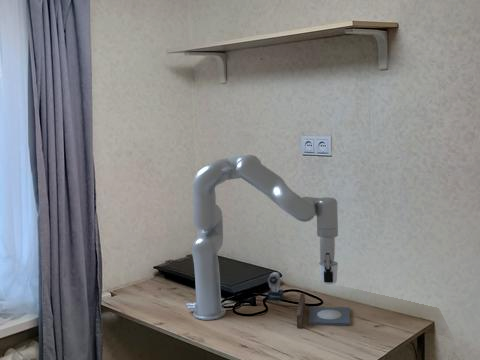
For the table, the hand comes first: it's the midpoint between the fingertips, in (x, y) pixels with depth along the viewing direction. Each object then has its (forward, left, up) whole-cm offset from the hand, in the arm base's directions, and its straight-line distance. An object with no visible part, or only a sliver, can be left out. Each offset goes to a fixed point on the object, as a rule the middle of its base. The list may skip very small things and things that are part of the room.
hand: (328, 278), depth 199 cm
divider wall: (-11, 0, -15) cm, 18 cm away
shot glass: (0, 0, -1) cm, 1 cm away
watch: (-22, +18, -15) cm, 32 cm away
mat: (0, 0, -15) cm, 15 cm away
